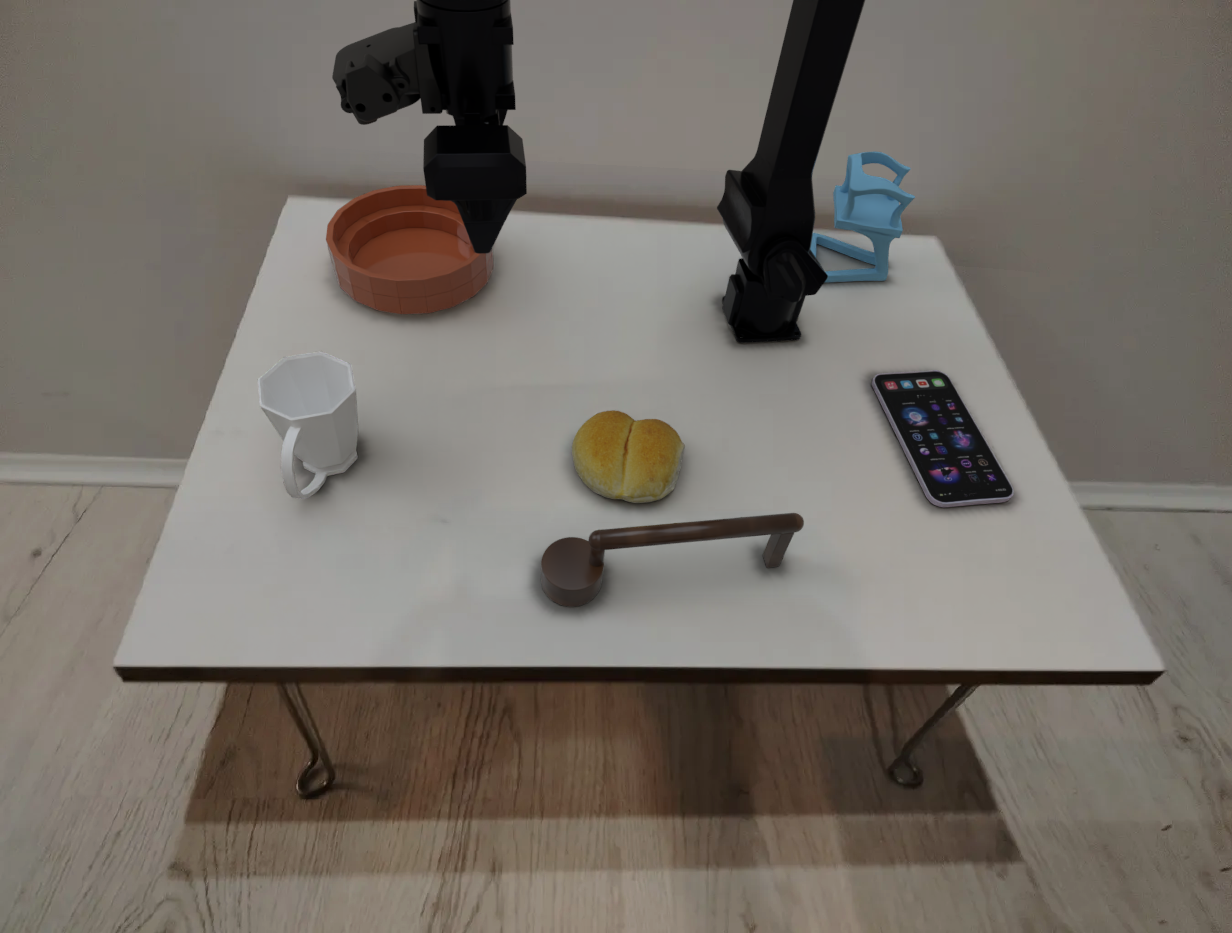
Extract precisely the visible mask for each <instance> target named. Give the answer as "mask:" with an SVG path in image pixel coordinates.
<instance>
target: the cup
mask: <svg viewBox="0 0 1232 933" xmlns="http://www.w3.org/2000/svg"><path fill="white" fill-rule="evenodd" d="M257 390H258V401H259V407H260V409H261V410H262V412H263V413H264V415H265V416H266V418H267V419H268V421H269V422H270V423H271V425H272V426H273V427H274V429H275V430H276V432H277V434H278V435H279V437H280V438H281V440H282V446H281V451H280V471H281V475H282V481H283V484H284V488H285V491H286V493H287V494H288V495H289V496H290V497H291V498H292V499H309V498H310V497H312V496H313V495H315V494H316V493H317V492H318V491H319V490H320V489H321V488H322V487H323V485H324V484H325V482H326V480H327V477H328V476H333V475H338V474H343V473H345V472H346V471H347V470H348V469H349V468H350V467H351V466H352V465H353V464H354V463H355V461H356V460H358V452H357V445H358V438H359V437H358V436H359V421H358V403H357V402H358V399H357V397H358V396H357V387H356V382H355V376H354V370H353V366H352V363H351V362H348V361H346V360H343V359H341V358H340V357H337V356H334V355H332V354H330V353H327V352H325V351H323V350H319V351H313V352H307V353H300V354H293V355H287V356H283V357H282V358H280V360H278V361H277V362H275V364H274V365H272V366H271V367H270V368H269V369H268V370H267V371H266V372H264V373H263V374H262V375H261V376H259V377H258V379H257ZM295 457H296V458H298V460H300V461H302V467H303V469H304V470H306V471H308V472H310V473H313V474H315V475H314V478H313V479H312V480H311V482H310V483H309V484H308V485H307V486H305V487H304V488H303V489H301V490H300V489H299V486H298V482H297V478H296V473H295Z"/></svg>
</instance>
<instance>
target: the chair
mask: <svg viewBox="0 0 1232 933" xmlns="http://www.w3.org/2000/svg"><path fill="white" fill-rule="evenodd" d="M870 164H879V165H882V166H884V167H886V168H888V169H889V170H891V171H892V172H893V173H894V174H896V176H895V178H894V179H893V181H891V180H889V179H887V178H885V177H880V176H875V175H869V174H867V173H865V171H864V169H863V166H865V165H870ZM845 169H846V170H845V178H844V180H843V183H842V184H841V185H837V184H836V185H835V186H834V188H833V192H832V195H833V198H832V199H833V208H834V209H833V210H834V217H833V218H834V219H833V221H834V222H833V223H834V224H833V225H834V229H839V230H844V231H853V232H854V233H857V234H860V235H862V236H864V237H866V238H868V239H869V241H871V243H872V247H873V251H870V250H867V249H864V248H861V247H858V246H856V245H853V244H851V243H848V242H845V241H842V240H839V239H837V238H834V237H831V236H827V235H824V234H822V233H818V232H813V236H812V243H811V248H810V250H811V251H812V253H813V254H814V256H815V257H816V258H817V245H820V246H822V247H824V248H827V249H830V250H832V251H835V252H838V253H840V254H843V255H846V256H848V257H850V258H854V259H856V260H857V261H858V260H859V261H861V262H864V263H867V264H870V265H873V266H874V267H868V268H867V267H866V268H852V269H851V268H850V269H838V270H826V271H825V270H824V271H825V272H826V274H827V275H828V278H827V280H826V281H825V282H824V284H825V283H843V282H844V283H845V282H865V281H867V282H868V281H869V282H870V281H874V282H877V281H878V282H881V281H882V282H884V281H886V280H887V279H888V275H889V256H890V255H889V254H890V253H889V252H890V245H891V243H892V241H893V240H894V239H901V236H902V233H903V232H904V230H903V223H902V218H901V216H902V213H903V212H904V211H905V209H906V208H907V207H908V206H909V205H910V204H911V203H912V202H913V201H914V200H915V199H916V196H915V195H914V194H910V193H908V192H907V191H904V190H903V189H902V188H900V185H901V183H902V182H903V179H904V177H906V175H907V174H908V173H909V172H910V171H911V170H912V168H911V167H910V166H908V165H904V164H902V163H900V162H899V161H898V160H896V159H895V158H893V157H892V156H890V155H889V154H887V153H885V152H882V151H877V150H875V151H864V152H863V151H862V152H858V153H853V154H852V153H851V154H848V156H847V161H846V168H845Z"/></svg>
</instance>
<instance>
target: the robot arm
mask: <svg viewBox="0 0 1232 933" xmlns="http://www.w3.org/2000/svg"><path fill="white" fill-rule="evenodd" d="M865 3H866V0H792V4H791V7H790V12H789V16H788V20H787V24H786V27H785V33H784V37H783V42H782V45H781V48H780V49H781V50H780V54H779V58H778V62H777V65H776V71H775V74H774V78H773V82H772V87H771V91H770V95H769V99H768V103H767V107H766V111H765V116H764V120H763V124H762V127H761V128H762V129H761V132H760V137H759V141H758V144H757V149H756V152H755V154H754V157H753V158H752V159H751V160H750V161H749V162H748V164H746V165H745V166H744V168H742V170H735V169H728V170H726V172H725V175H724V191H723V195H722V197H721V200H720V201H719V203H718V204H717V206H716V210H717V211H718V213H719V215H720V216H721V218H722V223H723V226H724V228H725V229H726V231H727V234H728V235H729V236H730V238H731V240H732V242H733V244H734V246H735V247H736V249H737V251H738V252H739V254H740V256H741V258H740V257H739V258H738V260H737V265H736V269H735V273H733V274H730V275H729V276H728V282H727V285H726V288H725V289H726V290H725V294H724V296H722V298H721V305H722V307H721V309H722V312H723V314H724V318H725V320H726V323H727V325H728V326H729V327H730V329H731V331H732V334H733V337H734V340H735V341H736V342H737V343H739V344H748V343H749V344H750V343H751V344H752V343H770V342H789V341H791V342H793V341H799V340H800V339H801V337H802V331H801V329H800V327H799V325H798V320H799V316H800V314H801V311H802V308H803V305H804V302H805V299H806V297H807V296H815V295H817V294H818V292H819V291H820V289H821V288H822V286H823V285H824V284H825V283H826V282H825V281H826V280H827V278H828V275H827V274H826V272H825V269H824V267H823V266H822V265H821V263H820V262H819V260H818V259H817V256H816V257H815V256H814V254H813V253H812V251H811V250H810V248H811V243H812V236H813V233H814V229H815V224H816V223H815V222H816V208H815V207H816V206H815V196H814V185H813V173H814V169H815V167H816V166H815V165H816V162H817V159H818V156H819V153H820V150H821V146H822V143H823V139H824V137H825V133H826V130H827V127H828V124H829V121H830V117H831V114H832V110H833V107H834V103H835V100H836V98H837V94H838V92H839V87H840V84H841V81H842V79H843V78H842V77H843V75H844V71H845V68H846V64H847V61H848V58H849V55H850V52H851V49H852V45H853V42H854V39H855V35H856V32H857V28H858V26H859V23H860V20H861V16H862V13H863V9H864V6H865ZM511 7H512V6H511V0H413V14H414V22H410V23H408V24H405V25H402V26H397V27H395V26H394V27H391V28H389V29H386V30H382V31H380V32H378V33H375V34H373V35H370V36H368V37H365V38H362V39H359V40H357V41H355V42H352V43H349V44H347V45H345V46H343V47H342V48H341V49H339V50H338V52H337V53H336V55H335V59H334V63H333V69H332V75H331V76H332V77H331V78H332V80H333V82H334V84H335V88H336V90H337V92H338V93H339V96H340V108H341V109H342V111H343V112H345V113H346V114H353V116H354V119H355V120H356V121H357V123H358V125H363V126H366V125H370V124H373V123H376V122H377V121H378V119H381V118H384V117H387V116H389V115H392V114H394V113H398V111H399V110H402V109H404V108H407V107H410V106H413V105H414V104H416V103H417V102H419V101H420V105H421V106H420V107H421V111H422V112H421V113H422V114H423V115H440V114H442V113H443V111H445V114H446V115H448V116H451V117H452V118H453V120H454V124H453V125H436V126H435V127H434V128H433V129H432V130H431V131H430V133H428V135H426V137H424V139H423V160H422V162H423V163H422V164H423V165H422V166H423V167H422V170H423V177H424V184H425V186H426V192H427V196H429V197H431V198H432V199H434V200H443V201H452V202H453V203H455V205H456V206H457V209H458V211H459V213H460V216H461V218H462V221H463V223H464V226H465V228H466V231H467V234H468V236H469V239H470V241H471V244H472V247H473V249H474V252H475V253H477V254H485V253H490V251H491V249H493V247H494V245H495V243H496V242H497V239H498V237H499V235H500V233H501V231H502V230H503V229H502V228H503V226H504V225H505V222H506V221H507V219H508V217H509V214H510V213H511V211H512V209H513V208H514V206H515V204H516V202H517V201H518V200H520V199H521V198H523V197H524V196H525V195H527V193H528V191H527V188H528V187H527V164H526V156H525V148H524V140H523V138H522V137H521V136H520V135H519V134H518V133H517V132H516V131H515V130H514V129H512V127H510V126H509V125H508V124H505V120H506V118H507V113H508V111H516V110H517V109H516V91H515V90H516V89H515V84H514V71H513V69H514V67H513V66H514V65H513V46H514V25H513V17H512V10H511V9H512V8H511ZM824 282H825V283H824Z"/></svg>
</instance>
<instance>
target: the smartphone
mask: <svg viewBox="0 0 1232 933" xmlns="http://www.w3.org/2000/svg"><path fill="white" fill-rule="evenodd" d="M871 387H872V389H873V391H874V394H875V395H876V398H877V399H878V402H879V403H880V405H881V407H882V409H883V411H884V412H885V415H886V418H887V420H888V422H889V424H890V426H891V428H892V430H893V432H894V434H895V435H896V438H897V440H898V442H899V444H900V446H901V448H902V450H903V453H904V454H905V456H906V459H907V460H908V463H909V464H910V467H911V469H912V471H913V473H914V475H915V477H916V479H917V480H918V483H919V485H920V487H921V490H922V491H923V493H924V495H925V497H926V499H927V500H928V501H929V503H931V504H933V505H934V506H936V507H939V508H953V507H962V506H972V505H985V504H986V505H987V504H998V503H1006V502H1008V501H1009V500H1011V498H1012V497H1013V496H1014V494H1015V489H1014V487H1013V485H1012V483H1011V481H1010V479H1009V478H1008V475H1007V473H1005V470H1004V469H1003V468H1002V466H1001V464H1000V462H999V460H998V459H997V457H996V455H995V453H994V452H993V451H992V448H991V447H990V445H989V443H988V441H987V440H986V438H985V436H984V435H983V432H982V431H981V429H980V428H979V426H978V424H977V423H976V421H975V419H974V417H973V415H972V414H971V412H970V410H969V408H968V406H967V405H966V404H965V402H964V400H963V398H962V397H961V395H960V392H958V390H957V388H956V386H955V384H954V383H953V381H952V379H951V378H950V376H949V375H948V374H947V373H946V372H943V371H941V370H937V369H933V370H932V369H931V370H916V371H915V370H914V371H913V370H912V371H900V372H899V371H898V372H897V371H895V372H883V373H882V372H881V373H880V372H879V373H877V374H875V375H874V376H873V378H872V380H871Z"/></svg>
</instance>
